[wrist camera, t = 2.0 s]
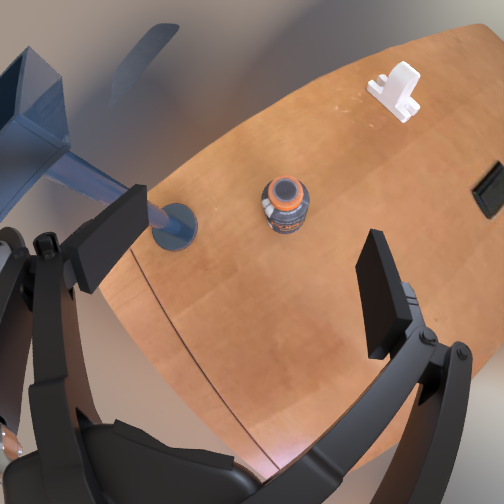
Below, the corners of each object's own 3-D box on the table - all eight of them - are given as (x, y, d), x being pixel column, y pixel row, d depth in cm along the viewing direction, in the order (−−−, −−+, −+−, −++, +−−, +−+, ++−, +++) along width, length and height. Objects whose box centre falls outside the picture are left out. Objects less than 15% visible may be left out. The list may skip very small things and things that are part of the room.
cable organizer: (403, 123, 42) (422, 93, 32) (364, 88, 43) (376, 54, 33) (417, 112, 42) (437, 82, 32) (380, 79, 43) (393, 46, 33)
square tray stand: (164, 263, 44) (-51, 213, 9) (145, 219, 45) (-39, 126, 10) (209, 236, 43) (19, 113, 8) (186, 192, 45) (28, 45, 10)
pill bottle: (269, 237, 42) (263, 220, 31) (262, 200, 43) (254, 172, 32) (308, 230, 42) (316, 210, 30) (300, 193, 42) (304, 162, 31)
